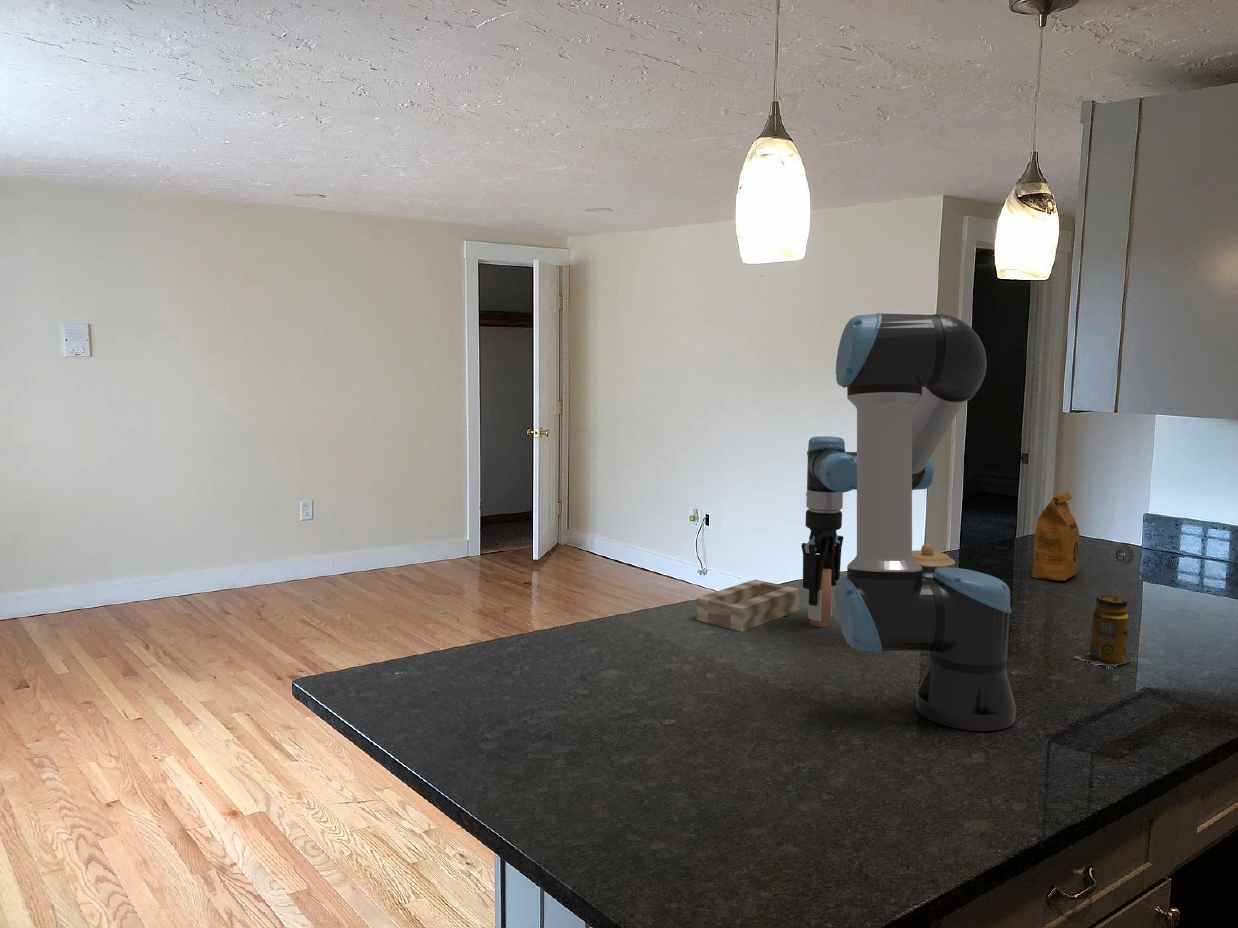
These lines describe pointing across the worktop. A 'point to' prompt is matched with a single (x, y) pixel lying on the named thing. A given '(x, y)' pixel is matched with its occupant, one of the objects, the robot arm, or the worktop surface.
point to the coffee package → (1056, 541)
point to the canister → (931, 560)
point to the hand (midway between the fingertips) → (820, 616)
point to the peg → (825, 599)
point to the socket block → (747, 605)
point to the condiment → (1108, 631)
